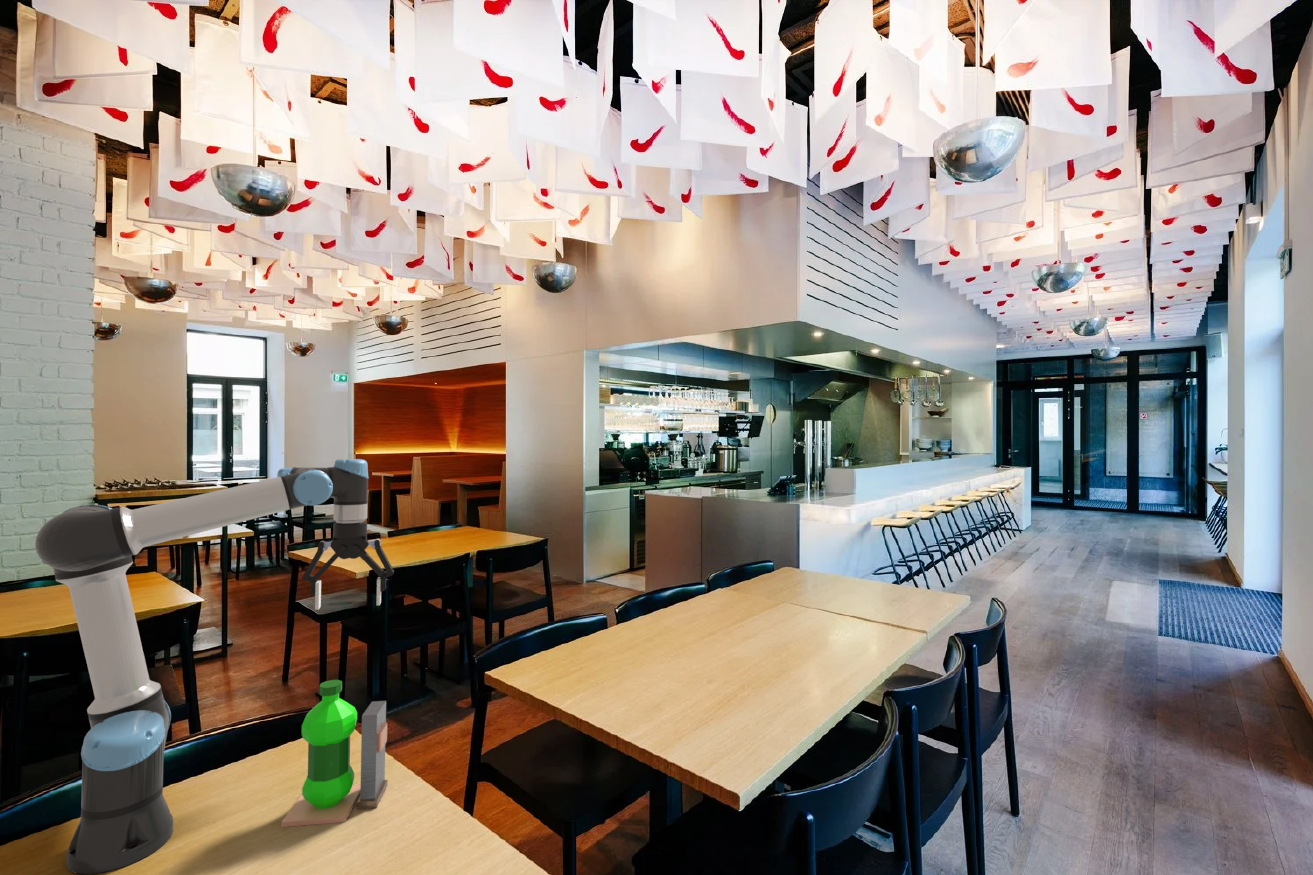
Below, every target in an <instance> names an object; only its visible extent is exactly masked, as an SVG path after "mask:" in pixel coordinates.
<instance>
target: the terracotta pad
mask: <svg viewBox="0 0 1313 875" xmlns="http://www.w3.org/2000/svg"><path fill="white" fill-rule="evenodd" d="M360 789H361V783H357V784H354V783H353V785H352V788H351V790H350V792H349V793H348V795H347V796H345V797H344V798H343V799H342V800H341V802H339V803H338V804H337V805H335V806H333V807H329V808H326V809H318V808H317V807H315V806H313V805H312V804H310V803H309V802H307V801H306V800H305V799H304V797H303V795H302V793H301V794H300V795H299V797H298V798H297V799H296V801H295V803H294V804H293V805H292V807H291V808H290V810H289V811H288V812H287V813H286V815H285V816H284V817H283V819H282V820H281V822H280V823H281V824H280V825H281V826H280V828H286V827H287V828H288V827H296V826H297V827H298V826H312V825H322V824H333V823H334V824H335V823H345V822H346V821H347V820H348V817H349V815H350V814H351V811H352V810H353V809H352V808H354V806H355V805H356V804H357V801H358V800H359V798H360V796H359V795H360ZM358 797H359V798H358ZM357 799H358V800H357Z"/></svg>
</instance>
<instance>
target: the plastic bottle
mask: <svg viewBox="0 0 1313 875" xmlns="http://www.w3.org/2000/svg"><path fill="white" fill-rule="evenodd" d="M342 691H343V681H342V680H339V679H332V680H326V681H324V682H321V683H320V685H319V689H318V692H319V694H318V695H320V696H321V701H319V702H317V704H316V705H315V706H314V707H312V709H311V710H310V711H308V713H306V715H305V718H304V720H303V722H302V724H301V736H302V739H303V740H304V741H306V742H307V744H308V745H307V746H308V749H307V750H308V751H307V755H308V756H307V775H306V779H304V783H303V784H302V789H301V794H302V795H303V797H304V799H305V800H306V801H307V802H309V803H310V804H312V805H313V806H315V807H317V808H318V809H326V808H329V807H333V806H335V805H337V804H338V803H339V802H341V800H342V799H343V798H344V797H345V796H347V795H348V793H349V792H350V790H351V788H352V785H354V780H355V771H354V769H353V767H352V766H351V763H350V761H351V735H352V734H354V732H355V728H356V725H357V721H358V711H357V710H356V707H355V706H354V705H352V704H350V703H349V702H347V701H345V700H344V699H342V698H340V693H342Z"/></svg>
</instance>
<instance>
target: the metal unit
mask: <svg viewBox="0 0 1313 875" xmlns="http://www.w3.org/2000/svg"><path fill="white" fill-rule="evenodd" d="M386 719H387V700H377V701H371V702H370V704H369V705H368V706H367V708H366V709H365V711H364V712H363V713H362V715H361V741H360V742H361V744H360V745H361V749H360V751H361V752H360V784H361V789H360V796H359V798H358V800H357V801H356V810H364V809H363V808H368V809H377V808H378V807H379V805H378V804H380V803H379V802H381V800H382V798H383V796H384V794H385V792H386V790H387V788H388V782H389V780H388V779H385V778H386V777H385V776H386V774H385V772H386V770H385V768H386V743H387V741H388V722H387V720H386ZM386 787H387V788H386Z"/></svg>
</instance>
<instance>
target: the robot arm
mask: <svg viewBox="0 0 1313 875" xmlns="http://www.w3.org/2000/svg"><path fill="white" fill-rule="evenodd" d="M368 464H369V463H368V462H367V460H365V459H362V458H354V459H353V458H351V459H350V458H347V459H346V458H345V459H344V458H343V459H342V458H341V459H336V460H334V464H333V466H330V467H329V466H328V467H296V466H293V467H284V468H283V467H281V468H280V469H278V471H277V473H276V474H277V475H276V477H273V478H269V479H264V480H260V481H256V482H255V481H254V482H250V483H246V484H242V485H237V486H233V487H229V488H228V487H227V488H225V489H220V490H214V491H211V492H207V493H202V494H198V495H192V496H188V497H185V498H179V499H174V500H171V501H166V502H162V503H157V504H153V505H148V506H144V507H139V508H134V509H130V508H128V507H126V506H120V507H114V508H112V507H109V506H106V505H101V504H86V505H85V504H84V505H83V504H82V505H79V506H75V507H71V508H69V509H66V510H65V511H63V512H62V513H60V514H58V515H56V516H54V517H52V518H51V519H50V520H48V521H47V522H46V523H44V525H42V526H41V528H40V529H39V531H38V533H37V535H36V537H35V542H34V544H35V550H36V553H37V556H38V557H39V559H40V560H41V561H43V563H44V564H46V565H48V566H49V567H51V568H52V569H53V574H54V578H55V581H56V582H57V583H60V584H63V585H65V586H66V587H68V589H69V593H70V599H71V602H72V603H71V604H72V606H73V610H74V616H75V619H76V623H77V627H78V632H79V635H80V640H81V644H82V649H83V653H84V657H85V660H86V664H87V666H86V667H87V670H88V674H89V679H90V682H91V686H92V690H93V696H94V700H93V701H92V702H91V703H90V705H89V706H88V707H87V709H86V711H87V716H88V721H89V725H90V730H89V731H88V732H87V733H86V735H85V736H84V739H83V743H82V746H81V752H80V756H81V760H82V768H81V769H82V770H81V773H82V774H81V800H80V801H81V803H80V804H81V805H80V808H81V810H80V819H79V821H78V824H77V826H76V829H75V831H74V834H73V836H72V839H71V841H70V843H69V845H68V848H67V851H66V868H67V870H68V871H69V872H71V871H73V872H76V873H75V874H77V873H83V874H82V875H94V873H95V874H100V873H101V874H102V873H106V872H109V871H113V870H117V869H120V868H122V867H123V868H124V867H126V866H129V865H132V864H134V863H136V862H138V861H140V860H143V859H144V858H146V857H148V856H149V855H151V854H152V853H154V852H157V850H159V849H160V848H161V847H163V846H164V845H166V843H167V842H168V841H169V840H170V839H171V837H172V835H173V832H174V818H173V815H172V814H171V811H170V808H169V805H168V803H167V801H166V799H165V796H164V794H163V792H164V791H163V789H164V787H163V786H164V758H165V757H164V756H165V754H164V753H165V747H166V741H167V737H168V732H169V731H168V730H169V728H170V725H171V720H172V714H171V713H172V712H171V710H170V709H171V708H170V706H169V705H168V702H166V700H165V698H164V694H163V691H162V686H161V684H160V683H159V682H156V681H153V680H151V679H150V675H149V672H148V667H147V663H146V658H145V654H144V651H143V646H142V644H143V643H142V641H141V636H140V631H139V627H138V623H137V619H136V618H137V617H136V614H135V611H134V606H133V601H132V596H131V592H130V587H129V584H128V580H127V574H126V573H127V571H128V569H129V568H130V567H131V566H132V565H133V564H134V562H133V558H132V556H135V555H138V554H139V553H140V552H141V550H142V549H143V548H146V547H149V546H155V545H158V544H160V543H164V542H170V541H173V540H176V539H181V538H184V537H188V536H192V535H195V534H200V533H204V532H207V531H212V530H215V529H219V528H223V527H227V526H231V525H235V524H239V523H242V522H247V521H250V520H254V519H258V518H262V517H265V516H270V515H273V514H277V513H280V512H284V511H288V510H292V509H293V510H294V509H297V508H301V507H306V506H312V507H313V506H318V505H321V504H324V503H325V502H326V501H327V500H329V499H331V498H332V499H333V521H335V522H334V523H333V530H332V531H333V532H332V541H325V540H321V541H319V542H318V543H317V551H316V552H315V554H314V556H313V558H312V560H311V561H310V562H309V564H308V566H307V568H306V570H305V572H304V573H303V575H302V577H301V580H303V581H307V582H309V583H310V595H311V597H312V596H313V597H314V598H315V599H314V610H315V611H316V610H317V611H319V610H320V609H321V606H322V603H321V602H322V580H319V579H320V577H321V576H322V575H323V574H324V573H325V572H326V571H327V570H328V569H329V568H330V567H331V565H333V563H334V562H336V560H337V559H338V558H340V559H341V560H347V559H353V560H355V559H358V558H360V559H361V560H362V561H364V563H365V564H367V565H368V566H369V567H370V568H371V570H372V571H374V573H375V574H376V575H377V579H376V606H380V605H381V603H382V592H385V591H386V589H387V578H388V577H392V576H393V575H394V574H395V573H394V572H395V570H394V569H393V567H392V566H393V565H392V564H391V563H390V560H389V559H388V557H387V555H386V553H385V551H384V550H383V548H382V541H381V539H380V538H376V539H372V540H368V522H367V521H366V520H367V519H368V495H369V494H368V492H369V491H368V490H369V478H370V476H369V469H368V468H369V467H368ZM369 546H370V547H371V548H372V549H374V550H375V552H376V554H377V556H378V558H379V560H380V562H381V563H382V566H383V567H384V569H383V568H382V567H381V566H380V565H379V564H378V563H377V562H376V561H375V560H374V559H373V557H371V556H370V555H369V553H368V552H367V551H366V549H367V548H368V547H369ZM329 548H331V550H333V552H334V554H333V555H331V557H330V558H329V559H328V560H327V561H326V562H325V563H324V564H323V565H322V566H321V568H320V569H319V570H317V571H316V573H315V574H314V575H312V573H313V572H314V570H315V568H316V566H317V564H318V563H319V561H320V559H321V558H322V556H323V554H324V553H325V551H327V550H328V549H329ZM73 872H72V873H73Z"/></svg>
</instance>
